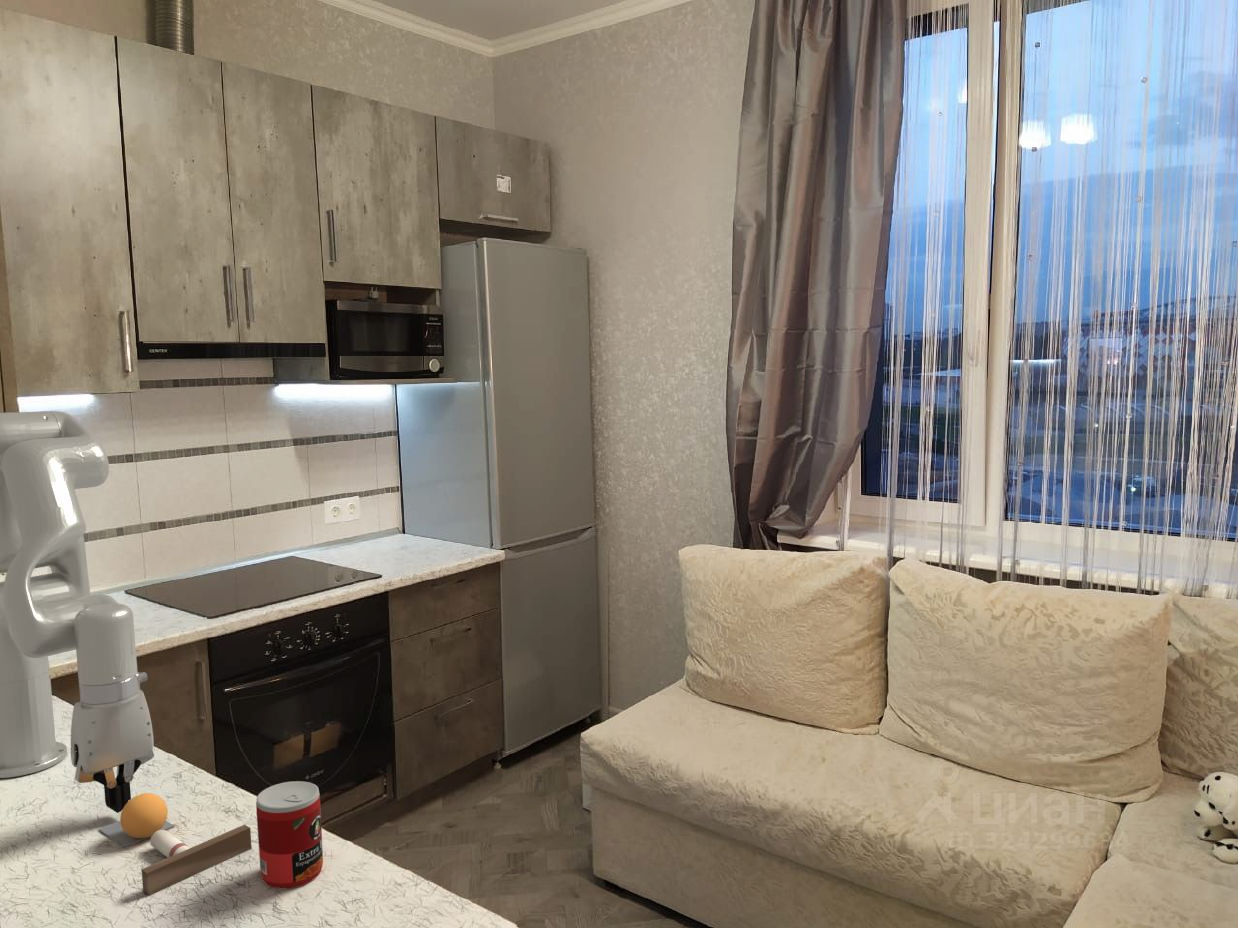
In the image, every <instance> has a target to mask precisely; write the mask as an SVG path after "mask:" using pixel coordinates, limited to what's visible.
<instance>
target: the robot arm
mask: <svg viewBox="0 0 1238 928" xmlns="http://www.w3.org/2000/svg"><path fill="white" fill-rule="evenodd" d="M109 472H110V463H109V458H108V455H107V453H106V450H105V448H104V447H103V444H102V443H101V442H100V441H99V439H98V438H97V437H96V436H95V434H93V433H92V432H91V431H90V430H89V429H88V428H87V427H85V425H83V424H82V422H80V421H79V420H77V419H76V418H75V417H74V416H73V415H71V414H69V413H68V412H64V411H57V410H47V411H46V410H45V411H44V410H42V411H39V410H38V411H24V412H23V411H21V412H19V411H18V412H17V411H15V412H14V411H13V412H0V574H6V575H5V576H4V577H5V578H4V581H0V779H7V778H9V779H10V778H16V777H21V776H26V775H31V774H34V773H37V772H40V771H43V770H46V769H49V768H51V767H52V766H53V767H54V766H55V765H57V764H59V763H60V762H62V761H63V760H65V758H66V757H67V755H68V747H67V746H66V744H64V743H63V742H59V741H56V730H55V719H54V708H53V707H54V706H53V695H52V684H51V683H52V682H51V671H50V661H49V657H50V656H54V655H59V654H63V653H67V652H71V651H74V650H76V651H75V653H76V664H77V665H76V666H77V676H78V688H79V698H80V699H79V700H80V701H77V702H75V703H74V705H73V709H72V716H71V724H70V725H71V726H70V758H71V759H70V760H71V761H70V762H71V765H72V766H73V768H76V769H75V774H74V780H75V781H76V782H77V783H79V784H86V783H93V782H97V783H99V784H101V785H103V790H104V791H103V792H104V803H105V806H106V807H107V808H109V809H110V810H112V811H114V812H115V813H117V814H119V813H121V812H122V810H123V808H124V806H125V805H126V804H127V802H128V801H130V800H131V799H132V794H131V783H130V782H132V781H133V780H134V775H135V773H136V772H137V771H138V769H139V768H140V767H141V765H143V764H145V763H147V762H149V761H150V760H152V759H153V758H154V757H155V754H154V745H155V744H154V731H153V730H154V729H153V724H152V720H151V714H150V709H149V705H148V703H147V699H146V696H145V694H144V691H143V690H142V689H141V683H143V682H146V681H147V680H148V675H147V673H146V672H145V671H144V672H139V671H138V661H137V650H136V649H137V647H136V635H135V633H136V632H135V622H134V613H133V611H132V609H131V607H129V606H128V605H126V604H122V603H118V602H117V600H116V599H115V598H114V597H113V596H111V595H108V594H102V593H100V594H99V593H98V594H93V595H91V588H90V579H89V570H88V562H87V561H88V560H87V553H86V552H87V551H86V543H85V536H84V535H85V533H86V531H87V527H86V526H87V525H86V521H85V519H84V516H83V513H82V510H81V506H80V504H79V500H78V497H77V493H76V490H77V489H79V490H80V489H89V488H95V487H99V486H101V485H103V484H104V483H105V482H106V480H107V479H108V476H109ZM45 567H49V568H50V570H51V573H46V574H39V575H35V576H32V574H33V573H34V572H33V571H34V569H38V568H39V569H40V568H45ZM114 768H116V775H115V771H114Z"/></svg>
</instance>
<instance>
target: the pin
mask: <svg viewBox="0 0 1238 928" xmlns="http://www.w3.org/2000/svg"><path fill="white" fill-rule="evenodd" d="M149 842H150V846H152V848H154V849H155V850H157V851H158V852H160V853H161V854H162V855H163V856H165V857H166V859H167V858H169V857H171V856H173V855H176V854H178V853H180V852H183V851H185V850H187V849H189V848H191V846H189V845H187V844H186V843H184V842H182V841H181V840H180V839H178V838H177V837H175V836H174V835H173V834H171V833H170V832H168V831H167V830H166V831H165V830H158V831H156V832H155V833H154V834H153V835H152V836H151V837H150V840H149Z"/></svg>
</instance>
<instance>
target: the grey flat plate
mask: <svg viewBox="0 0 1238 928" xmlns="http://www.w3.org/2000/svg"><path fill="white" fill-rule="evenodd" d="M172 828H175V825H174V824H172V823H171V822H169V821H167V820H166V821H165V823H164V825H163V827H162V828H161V829H160V830H165V831H167V830H170V829H172ZM98 831H99V832H101V833H102V834H103V835H105V836H107V837H108V838H109V839H111V840H113V841H114V842H116V843H117V844H118V845H120V846H121V847H122V848H127V847H129V846H131V845H134V844H137V843H139V842H141V841H143V840H147V839H148V838H151V837H152V836H149V837H146V838H134V837H131V836H129V835H128V834H126V833H125V831H124V830H123V828H122V826H121V822H120V820H119V821H116V822H114V823H111V824H109V825H108V824H107V825H106V826H103V827H100V828H99V829H98Z"/></svg>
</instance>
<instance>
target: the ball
mask: <svg viewBox="0 0 1238 928" xmlns="http://www.w3.org/2000/svg"><path fill="white" fill-rule="evenodd" d="M168 809H169V808H168V806H167V803H166V801H165V800H164V799H163V797H161V796H159V795H158V794H156V793H150V792H148V793H147V792H146V793H141V794H138V795H135V796H134V797H131V800H129V801H128V802H127V804H126V805H125V806H124V808H123V810H122V811H121V812H120V813H121V814H120V818H119V819H120V820H119V821H120V822H121V826H122V828H123V830H124V831H125V833H126V834H128V835H129V836H131V837H134V838H146V837H149V836H151V837H152V835H153V834H154V833H155V832H156V831H158V830H160V829H161V828H162V827H163V825H164V823H165V821H167V819H168ZM149 838H150V837H149ZM146 839H147V838H146Z"/></svg>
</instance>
